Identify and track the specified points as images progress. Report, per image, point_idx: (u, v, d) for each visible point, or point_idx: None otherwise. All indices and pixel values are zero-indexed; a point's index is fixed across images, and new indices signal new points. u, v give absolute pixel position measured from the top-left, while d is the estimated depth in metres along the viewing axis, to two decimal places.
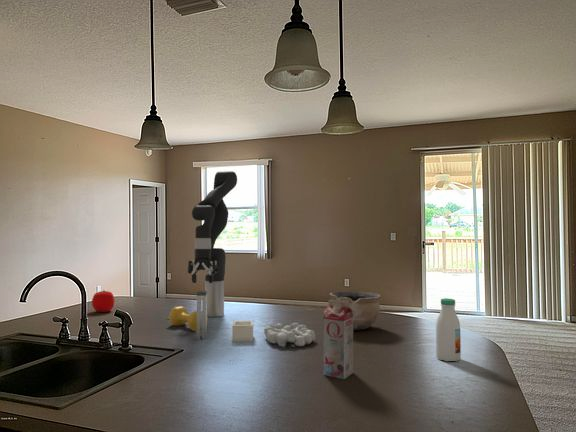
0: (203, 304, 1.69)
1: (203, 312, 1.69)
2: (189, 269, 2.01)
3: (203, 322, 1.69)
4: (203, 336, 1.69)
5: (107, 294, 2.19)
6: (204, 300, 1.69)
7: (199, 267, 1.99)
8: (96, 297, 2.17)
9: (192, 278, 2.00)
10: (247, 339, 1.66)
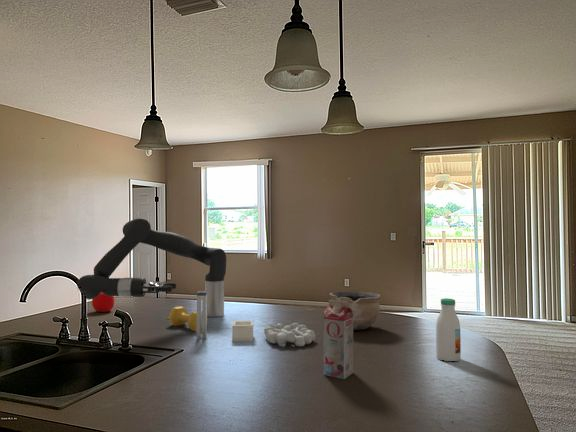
0: (203, 304, 1.69)
1: (203, 312, 1.69)
2: None
3: (203, 322, 1.69)
4: (203, 336, 1.69)
5: None
6: (204, 300, 1.69)
7: None
8: (96, 297, 2.17)
9: None
10: (247, 339, 1.66)
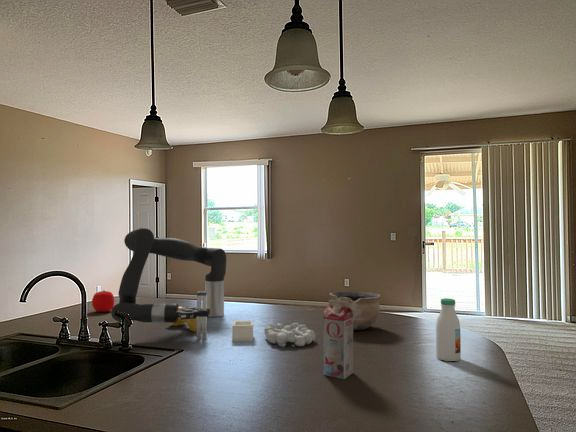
0: (203, 304, 1.69)
1: None
2: None
3: (203, 322, 1.69)
4: (203, 336, 1.69)
5: (107, 294, 2.19)
6: (204, 300, 1.69)
7: None
8: (96, 297, 2.17)
9: None
10: (247, 339, 1.66)
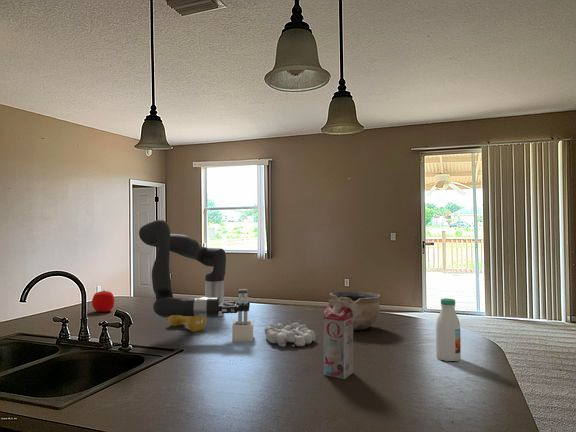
0: (245, 302, 1.68)
1: None
2: None
3: (244, 320, 1.68)
4: None
5: (107, 294, 2.19)
6: (246, 298, 1.68)
7: None
8: (96, 297, 2.17)
9: None
10: (247, 339, 1.66)
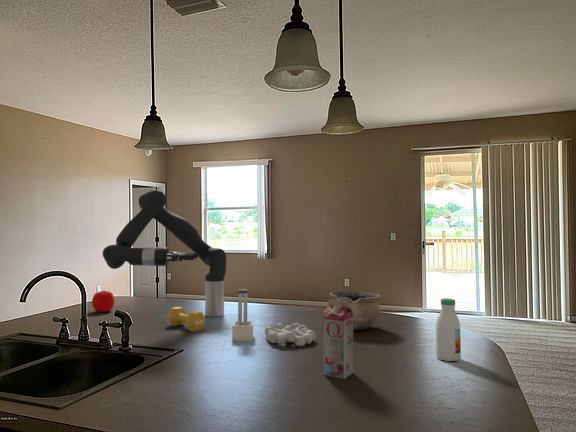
0: (244, 302, 1.68)
1: (244, 310, 1.68)
2: None
3: (244, 320, 1.68)
4: None
5: (107, 294, 2.19)
6: (245, 298, 1.68)
7: None
8: (96, 297, 2.17)
9: None
10: (247, 339, 1.66)
